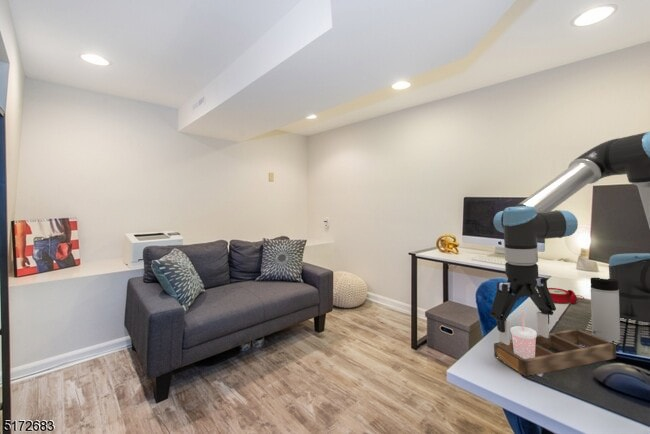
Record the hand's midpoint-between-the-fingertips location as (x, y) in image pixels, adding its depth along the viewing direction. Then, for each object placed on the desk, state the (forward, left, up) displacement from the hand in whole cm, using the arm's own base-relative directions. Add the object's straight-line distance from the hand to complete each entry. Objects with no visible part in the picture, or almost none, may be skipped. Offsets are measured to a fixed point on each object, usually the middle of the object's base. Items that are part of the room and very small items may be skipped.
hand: (524, 339), depth 81 cm
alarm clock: (-38, -51, -7) cm, 64 cm away
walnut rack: (-9, -3, -7) cm, 12 cm away
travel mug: (-29, -13, -7) cm, 33 cm away
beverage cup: (0, 0, -7) cm, 7 cm away
